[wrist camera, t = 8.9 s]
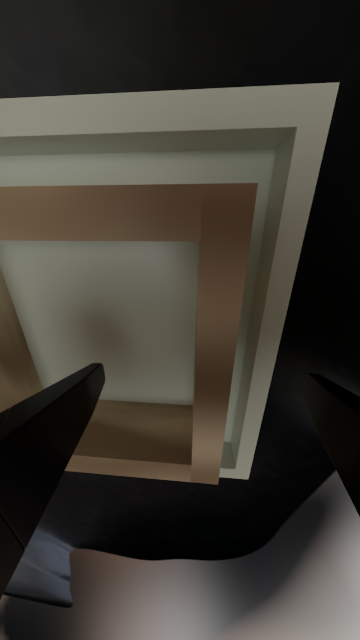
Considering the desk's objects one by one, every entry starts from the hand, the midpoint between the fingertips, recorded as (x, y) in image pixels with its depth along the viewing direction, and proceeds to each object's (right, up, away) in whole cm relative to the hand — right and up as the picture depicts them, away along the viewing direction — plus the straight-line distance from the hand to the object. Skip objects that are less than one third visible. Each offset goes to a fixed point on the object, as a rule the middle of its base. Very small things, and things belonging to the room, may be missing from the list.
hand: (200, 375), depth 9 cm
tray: (-6, +2, +4) cm, 7 cm away
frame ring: (-5, +2, +3) cm, 7 cm away
